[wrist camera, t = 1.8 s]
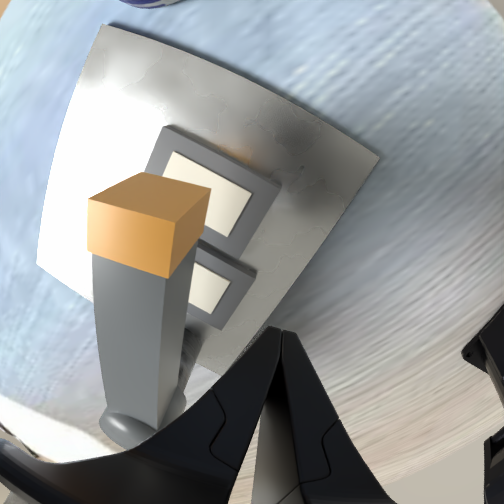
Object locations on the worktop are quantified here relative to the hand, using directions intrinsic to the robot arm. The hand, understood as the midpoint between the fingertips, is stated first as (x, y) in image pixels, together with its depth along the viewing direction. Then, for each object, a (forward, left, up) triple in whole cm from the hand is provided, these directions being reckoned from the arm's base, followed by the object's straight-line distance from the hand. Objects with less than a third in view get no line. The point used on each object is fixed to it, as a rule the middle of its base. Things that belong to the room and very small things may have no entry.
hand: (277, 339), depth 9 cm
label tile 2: (+4, +4, -7) cm, 9 cm away
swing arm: (+3, +5, -3) cm, 6 cm away
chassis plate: (+6, +2, -7) cm, 10 cm away
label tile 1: (+5, 0, -7) cm, 8 cm away
